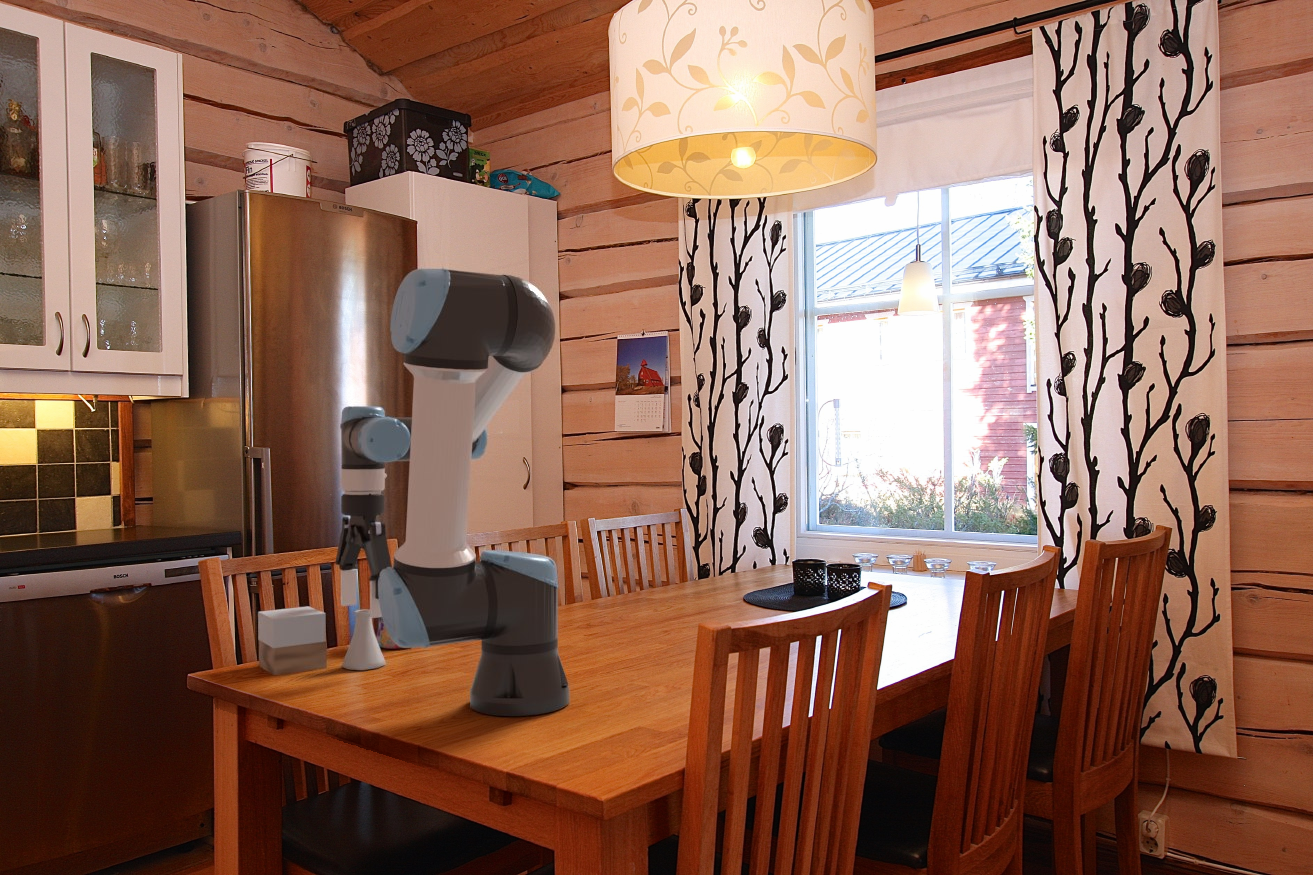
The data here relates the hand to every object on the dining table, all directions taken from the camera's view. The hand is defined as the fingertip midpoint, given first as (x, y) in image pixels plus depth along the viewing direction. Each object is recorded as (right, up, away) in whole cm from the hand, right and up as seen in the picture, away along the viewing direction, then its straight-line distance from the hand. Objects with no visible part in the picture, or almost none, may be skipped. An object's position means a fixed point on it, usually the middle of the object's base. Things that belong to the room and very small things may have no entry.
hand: (363, 611), depth 175 cm
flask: (0, -10, 0) cm, 10 cm away
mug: (+2, -10, +18) cm, 21 cm away
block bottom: (-12, -10, 0) cm, 16 cm away
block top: (-13, -5, 0) cm, 14 cm away
